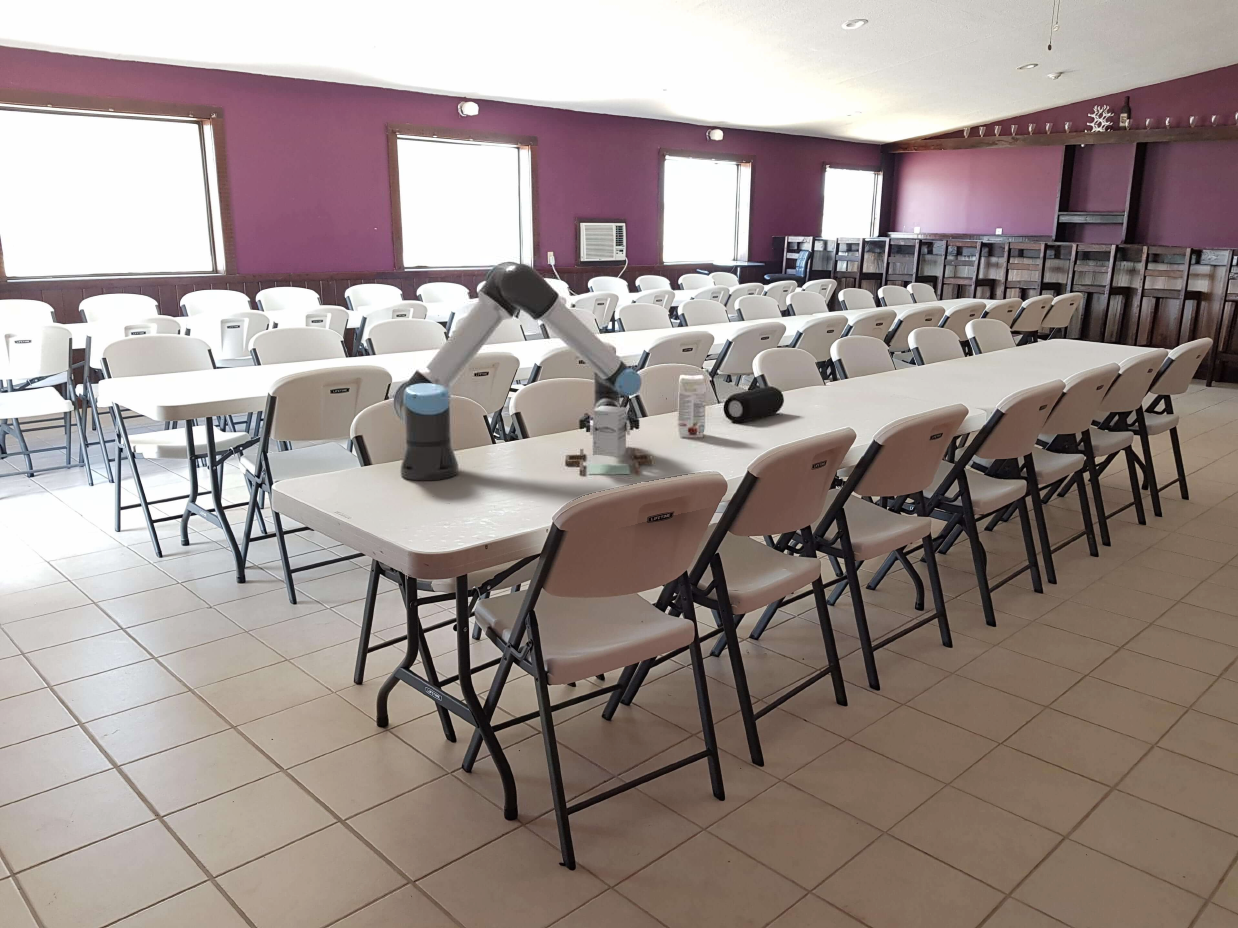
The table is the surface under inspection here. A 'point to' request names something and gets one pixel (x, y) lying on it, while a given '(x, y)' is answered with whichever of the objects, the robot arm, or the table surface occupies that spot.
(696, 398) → the juice carton
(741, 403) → the portable speaker
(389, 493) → the table surface
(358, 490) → the table surface
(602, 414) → the supplement box
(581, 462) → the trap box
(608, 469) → the pad
